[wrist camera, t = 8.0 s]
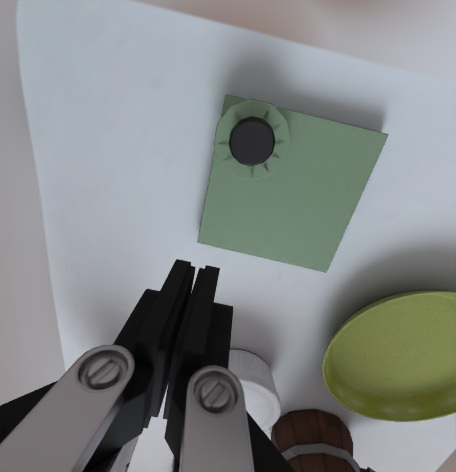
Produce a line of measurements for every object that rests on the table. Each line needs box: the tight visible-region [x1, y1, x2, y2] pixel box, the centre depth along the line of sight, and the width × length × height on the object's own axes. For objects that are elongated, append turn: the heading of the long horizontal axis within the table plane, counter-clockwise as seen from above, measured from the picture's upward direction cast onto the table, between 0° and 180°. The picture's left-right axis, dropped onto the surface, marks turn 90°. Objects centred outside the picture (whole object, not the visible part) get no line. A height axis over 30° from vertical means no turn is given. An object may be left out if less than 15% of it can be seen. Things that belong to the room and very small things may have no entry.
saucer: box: [322, 290, 456, 422], centre depth 31 cm, size 21×21×3 cm
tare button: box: [231, 121, 273, 165], centre depth 21 cm, size 3×3×2 cm
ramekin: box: [228, 350, 281, 431], centre depth 35 cm, size 11×11×5 cm
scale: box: [197, 94, 388, 272], centre depth 25 cm, size 14×14×3 cm
